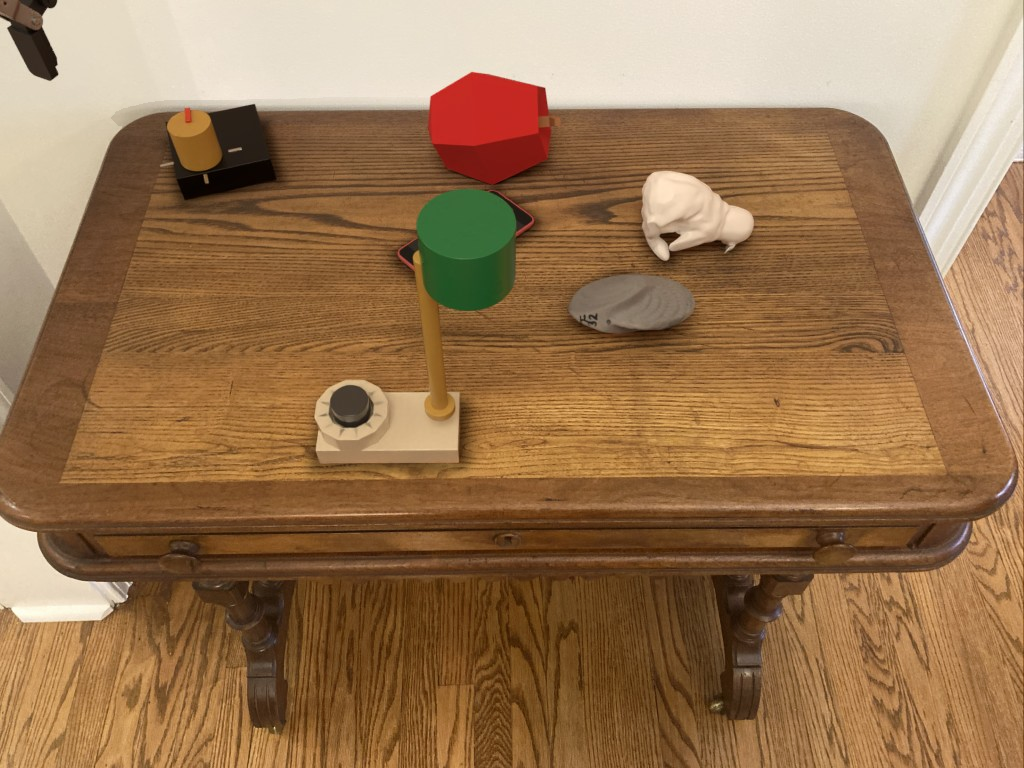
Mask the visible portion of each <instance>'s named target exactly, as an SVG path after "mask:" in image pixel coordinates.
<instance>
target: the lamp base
mask: <svg viewBox="0 0 1024 768" xmlns="http://www.w3.org/2000/svg"><path fill="white" fill-rule="evenodd" d="M346 385H356V386H359V387H361V388H363V389H364V390H365V391H366V393H367V395H368V398H369V402H370V407H371V413H370V416H369V418H368V419H367V420H366V421H365V422H364V423H363V424H361V425H359V426H356V427H344V426H341V425H340V424H338V423H337V422H336V421H335V419H334V417H333V414H332V410H331V407H330V398H331V396H332V394H333V393H334V392H335V391H336V390H337V389H339V388H340V387H343V386H346ZM447 393H449V394H450V395H452V396H453V398H454V400H455V412H454V414H453V415H452V416H451V417H450V418H449V419H447V420H444V421H435V420H432V419H430V418H429V417H428V416H427V415H426V413H425V408H424V402H425V399H426V398H427V397H428V396H429V395H430V391H392V392H391V391H387V392H386V391H383V390H382V389H381V387H380V386H377V385H375V384H373V383H371V382H369V381H368V380H366V379H345V380H341V381H340V382H338V383H335V384H333V385H331V386H328V388H327V389H326V390H325V391H323V393H322V394H321V395H320V397H319V398H318V399H316V401H315V402H316V403H315V408H314V415H313V416H314V421H315V425H316V427H317V437H316V443H315V453H316V457H317V459H318V462H319V464H458V463H460V447H461V446H460V445H461V444H460V442H461V412H462V411H461V410H462V409H461V408H462V403H461V393H460V391H447Z"/></svg>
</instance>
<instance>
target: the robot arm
mask: <svg viewBox="0 0 1024 768" xmlns="http://www.w3.org/2000/svg"><path fill="white" fill-rule="evenodd" d="M57 4H58V0H0V19H2V20H4V21H6V22H7V23H8V22H9V23H10V25H9V26H7V27H6V29H7V31H8V33H9V35H10V37H11V39H12V41H13V43H14V45H15V47H16V49H17V51H18V52H19V54H20V56H21V58H22V60H23V62H24V64H25V66H26V68H27V70H28V71H29V72H30V74H32V75H33V76H34V77H37V78H39V79H43V80H46V81H49V82H52V81H53V80H54V79H55V78H57V77H58V76H59V70H58V69H57V67H58V65H59V64H58V57H57V55H56V52H55V50H54V48H53V47H52V45H51V42H50V40H49V38H48V36H47V34H46V32H45V29H44V28H43V25H44V18H43V16H44V14H45V13H46V11H47V9H54V8H55V7H56V6H57Z"/></svg>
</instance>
